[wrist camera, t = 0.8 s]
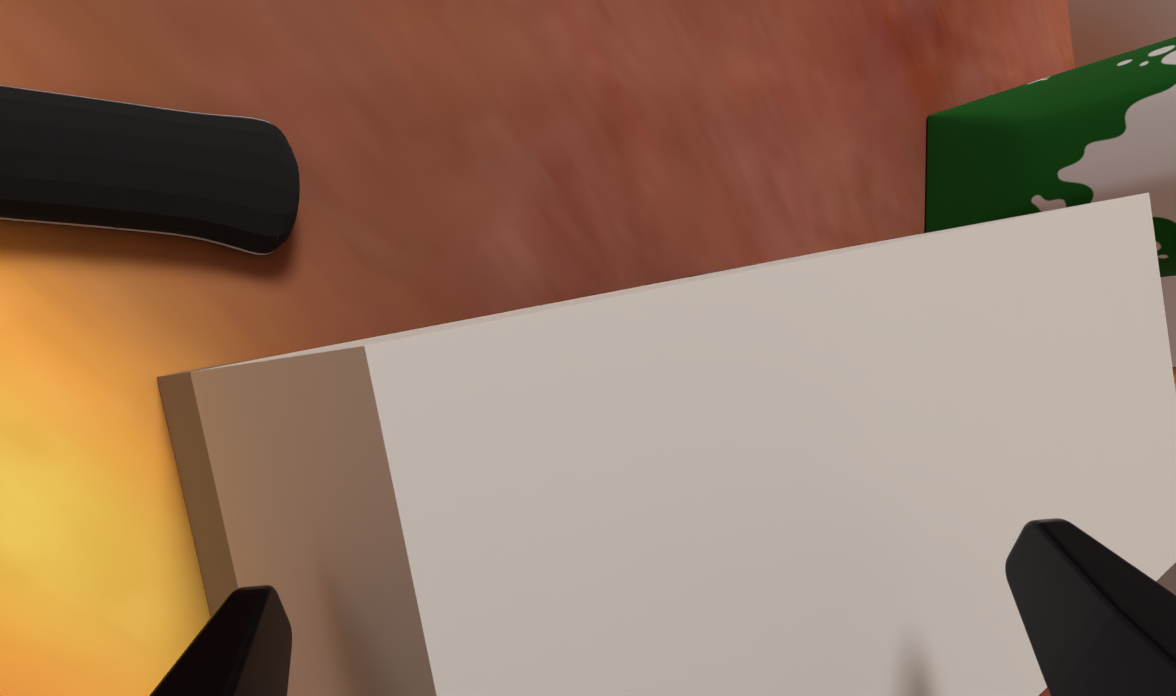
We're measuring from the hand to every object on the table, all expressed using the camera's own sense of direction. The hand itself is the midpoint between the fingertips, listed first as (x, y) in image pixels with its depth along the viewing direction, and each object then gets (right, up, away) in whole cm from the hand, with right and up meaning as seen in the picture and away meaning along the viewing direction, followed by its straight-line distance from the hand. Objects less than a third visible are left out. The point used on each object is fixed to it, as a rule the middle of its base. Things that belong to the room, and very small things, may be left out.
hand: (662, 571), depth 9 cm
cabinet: (-3, 0, +14) cm, 14 cm away
